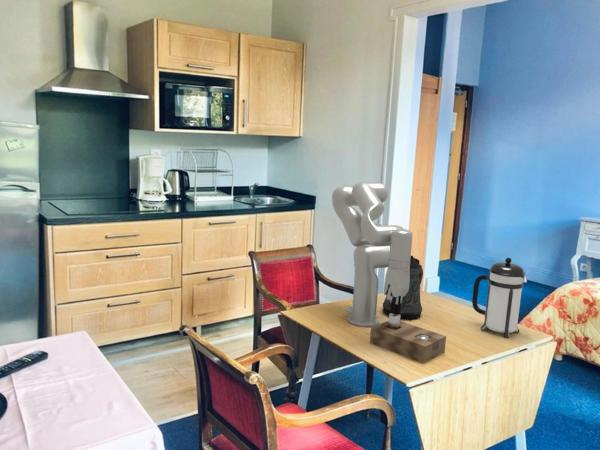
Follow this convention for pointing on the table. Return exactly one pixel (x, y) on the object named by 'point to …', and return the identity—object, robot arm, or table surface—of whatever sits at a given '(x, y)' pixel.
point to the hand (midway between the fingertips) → (395, 313)
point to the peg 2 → (423, 337)
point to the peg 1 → (394, 321)
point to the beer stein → (409, 294)
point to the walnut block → (408, 341)
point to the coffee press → (501, 297)
